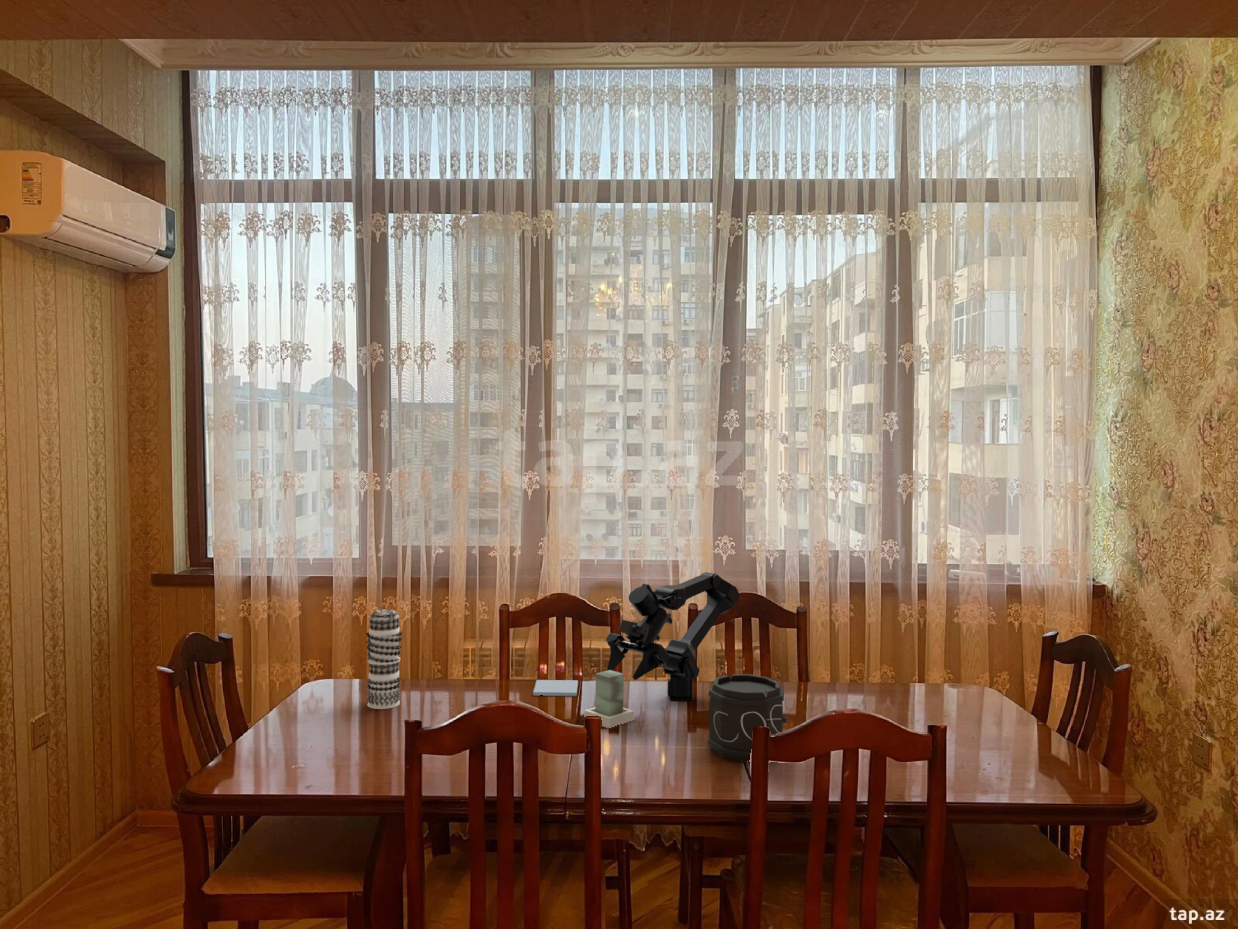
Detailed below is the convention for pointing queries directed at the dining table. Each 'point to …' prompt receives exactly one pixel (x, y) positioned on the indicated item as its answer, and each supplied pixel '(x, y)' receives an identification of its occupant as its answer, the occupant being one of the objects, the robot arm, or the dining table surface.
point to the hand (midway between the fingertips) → (620, 675)
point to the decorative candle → (383, 659)
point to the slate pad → (556, 688)
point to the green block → (609, 693)
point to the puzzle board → (612, 717)
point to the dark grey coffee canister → (742, 713)
